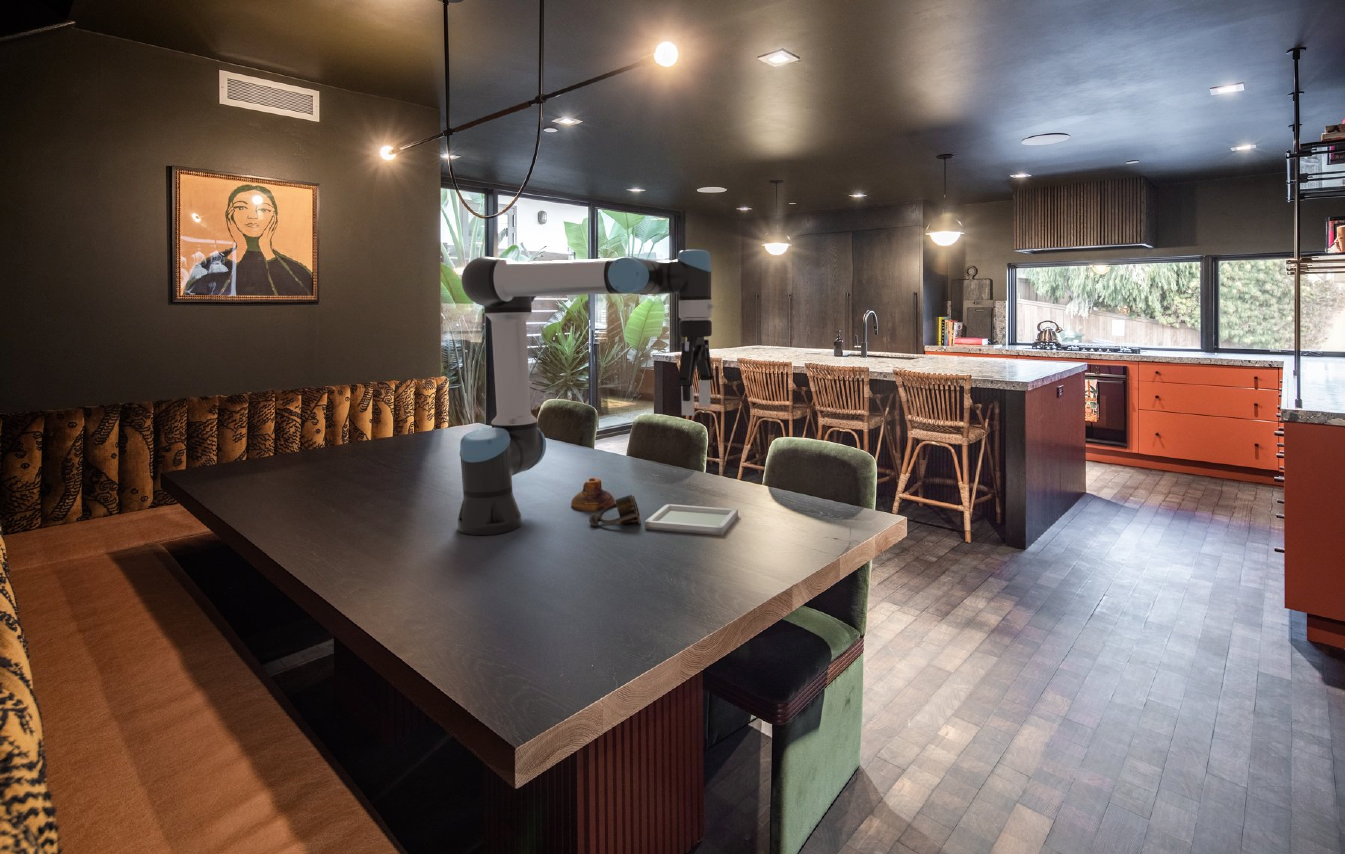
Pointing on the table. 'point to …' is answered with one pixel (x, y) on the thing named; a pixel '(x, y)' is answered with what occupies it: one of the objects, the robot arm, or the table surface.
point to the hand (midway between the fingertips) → (696, 411)
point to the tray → (692, 519)
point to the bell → (592, 497)
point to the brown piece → (625, 509)
